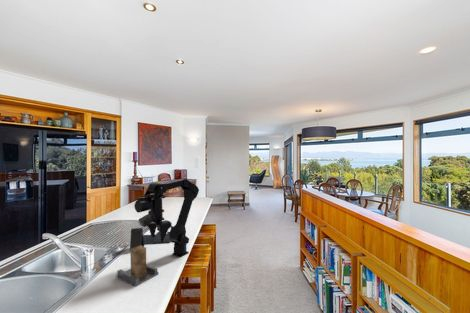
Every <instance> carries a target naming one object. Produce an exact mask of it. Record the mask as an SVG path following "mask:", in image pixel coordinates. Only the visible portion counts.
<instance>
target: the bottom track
mask: <svg viewBox="0 0 470 313" xmlns="http://www.w3.org/2000/svg"><path fill="white" fill-rule="evenodd" d="M146 265H147V274H146V275H144V276H141V277H139V278H138V277H136V276H134V275H132V274H131V268H129V269H128V270H126V271H125V270H123V269H119V270H117V271H116V272H117V274H116V279H118V280H119V281H120V280H121V281H122V282H124V283H126V284H128V285H130V286H132V287H137V286H140V285H141V284H143V283H145V282H147V281H148V280H151V279H152V278H155V277H156V276H158V275H159V271H158V268H157V267H155V266H152V265H150V264H147V263H146Z"/></svg>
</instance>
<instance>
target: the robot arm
mask: <svg viewBox="0 0 470 313" xmlns="http://www.w3.org/2000/svg"><path fill="white" fill-rule="evenodd" d="M177 188H180V189H181V190H182V191H183V193H182V194H183V202H182V205H181V208H180V211H179V215H178V218H177V220H176V223H175V225H173V224H172V222H171V221H170V220H165V217H163V215H164V214H163V213H165V209H163V199H165V198H166V197H167V196H166V195H165V193H167V192H168V191H170V190H173V189H177ZM199 191H200V189H199V186H198V185H196V184H195V183H194V182H191V181H190V180H188V179H187V178H183V177H182V178H179V179H173V180H170V181H165V182H151V183H149V185H148V187H147V189H146V191H145V193H144V194H143V197H137V198H136V201H135V202H134V209H135V211H136V213H143V212H146V211H148V212H147V213H148V214H145V215H143V216H142V217H140V218H138V222H139V225H140V227H141V226H142V228H143V227H144V228H145V227H148V230H149V234H150V235H151V236H152V237H154V235H155V234H156V231H157V232H159V234H160V240H161V242H162V241H163V240H164V238H165V236H166V234H167V232H169V237H170V240H171V241H172V242H171V243H173V252H172V255H173V256H176V257H179V258H182V257H183V256H185V255H188V254H189V251H187V244H189V241H190V238H189V237H188V236H186V233H187V230H186V224H187V220H188V217H189V214H190V211H191V208H192V204H193V201H195V199H197V197H198V195H199ZM169 229H170V230H169Z"/></svg>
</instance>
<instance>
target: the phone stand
mask: <svg viewBox="0 0 470 313" xmlns="http://www.w3.org/2000/svg"><path fill="white" fill-rule="evenodd" d="M143 235H144V229H143V227H136V228H131V229H130V242H129V250H130V249H131V248H134V247H137V246H140V245H141V246H143V247H145V244H144V237H143Z"/></svg>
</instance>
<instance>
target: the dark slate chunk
mask: <svg viewBox="0 0 470 313" xmlns="http://www.w3.org/2000/svg"><path fill="white" fill-rule="evenodd" d="M169 232H170V231H167V233H166V236H165V238H164V240H163V241H162V242H161V240H160V234H159V231H157V232H155V235H154V237H152V236H151V234H143V237H144V244H145V245H148V246H149V245H162V244H171V243H172V241H171V240H170V237H169Z"/></svg>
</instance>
